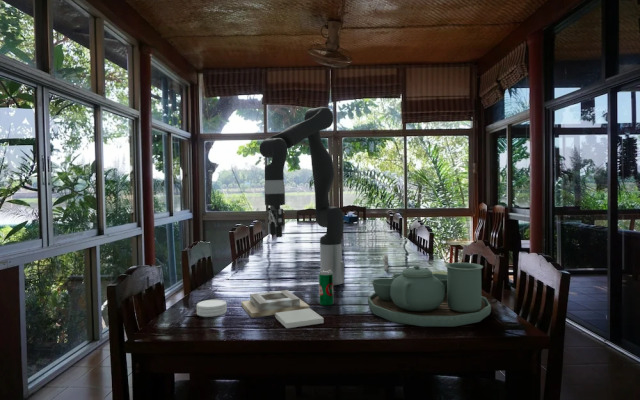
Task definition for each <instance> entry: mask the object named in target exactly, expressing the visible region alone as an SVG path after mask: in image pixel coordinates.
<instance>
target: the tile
mask: <svg viewBox="0 0 640 400" xmlns="http://www.w3.org/2000/svg"><path fill="white" fill-rule="evenodd" d="M274 317H275V319H276V320H277V321H278V322H279V323H280V324H281V325H282V326H284V327H285V328H286V329H291V328H297V327H305V326H311V325H312V326H313V325H319V324H324V320H325V319H324V317H323V316H321V315H320V314H318V313H317V312H315V311H314V310H313V309H312V308H310V307H309V308H308V309H301V310H293V311H285V312H278V313H275V315H274Z"/></svg>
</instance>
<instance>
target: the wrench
mask: <svg viewBox="0 0 640 400" xmlns="http://www.w3.org/2000/svg"><path fill="white" fill-rule="evenodd" d="M382 262H383V267H384V269H383V270H384V271H387V272H388V271H389V255H388V254H383V257H382Z"/></svg>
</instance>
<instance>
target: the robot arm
mask: <svg viewBox="0 0 640 400" xmlns="http://www.w3.org/2000/svg"><path fill="white" fill-rule="evenodd" d="M303 119H304V120H303V121H300V122H298V123H296V124H293V125H290V126H288V127H287V128H286V129H284V130H283V131H281V132H279V133H277V134H273V135H272V136H270V137H266V138H265V139H264V140H263V141H261V143H260V145H259V153H260V154H261V156H263V157H264V158H266V159H271V162H270V163H268V164H267V165H265V166H264V190H263V191H264V205H265V206H267V223H268V225H269V234H270V235H271V236H275V237H276V238H282V237H283V226H284V225H285V219H284V208H281V206H284V205H286V192H285V191H286V190H285V189H286V188H285V187H286V186H285V179H284V173H285V172H284V168H285V164H286V159H287V155H288V149H292V148H293V147H294V146H297V144H299V143H300V142H302V141H304V140H305V139H307V140H308V146H309V153H310V159H311V171H312V177H313V184H314V185H313V186H314V187H313V188H314V198H315V199H314V200H315V201H314V202H315V210H314V211H315V220H316V223H317V225H318V226H319V227H321V228H326V232H325V234H324V235H322V236H320V238H319V246H320V247H319V253H320V255H319V256H320V264H319V265H320V271H321V270H331V271H332V273H333V286H337V285H341V284H344V283H345V272H344V271H345V270H344V266H345V264H344V260H343V256H342V254H343V253H342V251H343V250H342V240H343V237H344V213H343V211H342V209H341V208H340V207H337V206H331V205H330V204H331V203H330V191H331V188H332V186H333V181H334V178H335V170H334V169H335V168H334V161H333V158H332V155H331V154H330V152H329V151H328V150H327V148H326V147H325V146H324V143H323V141H322V137H321V133H320V132H321V131H323V130H326V129H328V128H330V127H331V126H332V125H333V123H334V114H333V112H332V110H331V109H330V108H329V107H325V106H320V107H316V108H314V107H313V108H309V109H307V110H306V111H305V113H304V118H303Z"/></svg>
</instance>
